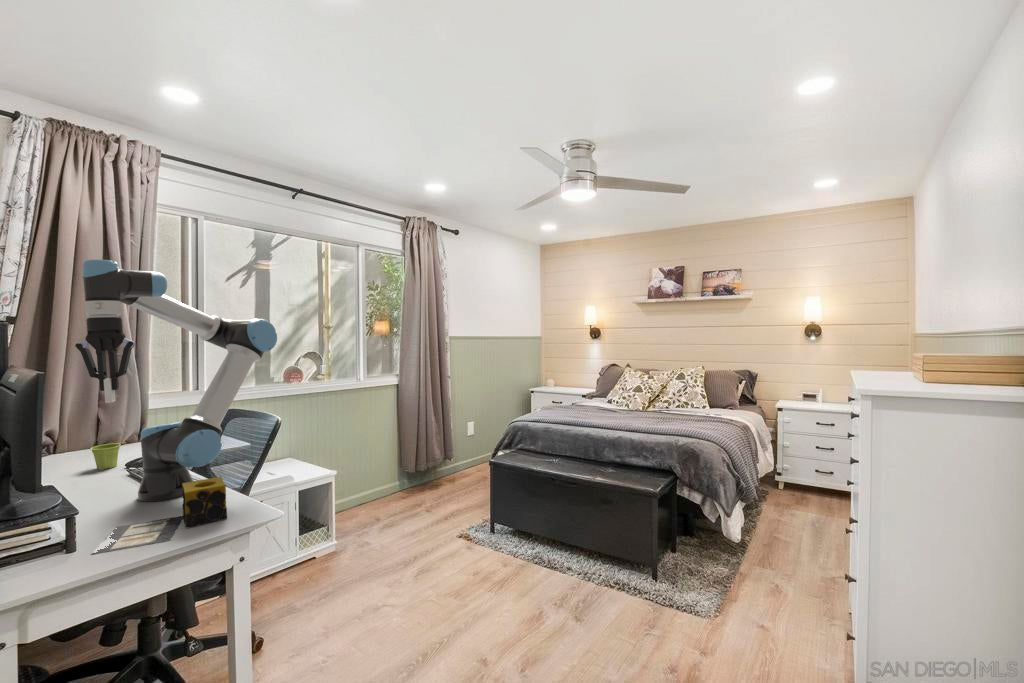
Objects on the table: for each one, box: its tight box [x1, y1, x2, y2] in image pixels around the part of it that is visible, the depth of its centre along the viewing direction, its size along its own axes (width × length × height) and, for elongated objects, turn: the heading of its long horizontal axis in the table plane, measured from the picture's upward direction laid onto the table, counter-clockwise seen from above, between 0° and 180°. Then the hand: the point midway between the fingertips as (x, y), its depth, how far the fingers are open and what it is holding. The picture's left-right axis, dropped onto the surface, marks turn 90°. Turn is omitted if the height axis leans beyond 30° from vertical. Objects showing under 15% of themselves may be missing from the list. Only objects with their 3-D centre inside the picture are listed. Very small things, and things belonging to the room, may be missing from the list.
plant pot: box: [90, 442, 121, 471], centre depth 195 cm, size 9×9×9 cm
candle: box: [182, 476, 228, 529], centre depth 137 cm, size 10×10×10 cm
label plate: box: [96, 515, 184, 554], centre depth 129 cm, size 18×16×1 cm
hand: (110, 402), depth 134 cm, fingers closed
